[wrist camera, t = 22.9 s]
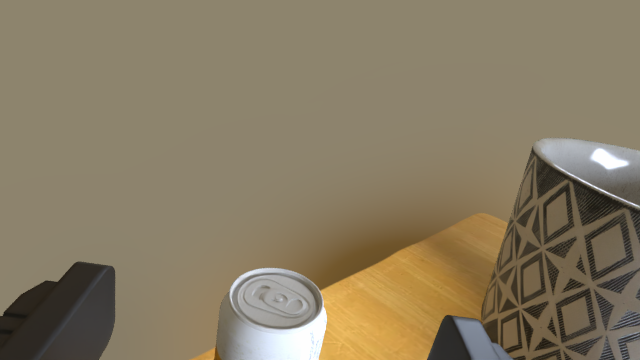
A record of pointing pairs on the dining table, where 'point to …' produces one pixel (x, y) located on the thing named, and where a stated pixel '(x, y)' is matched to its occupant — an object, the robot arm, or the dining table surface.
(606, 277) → the planter
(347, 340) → the dining table surface
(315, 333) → the beer can
